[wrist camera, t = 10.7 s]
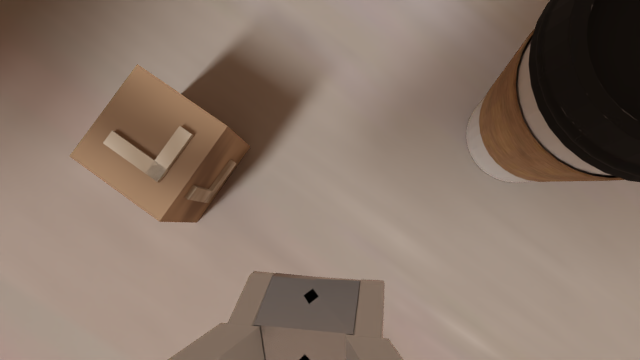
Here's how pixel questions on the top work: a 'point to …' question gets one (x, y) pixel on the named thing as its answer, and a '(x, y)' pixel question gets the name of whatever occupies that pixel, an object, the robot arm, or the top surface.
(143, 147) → the lettered cube
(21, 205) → the top surface
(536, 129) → the coffee cup
